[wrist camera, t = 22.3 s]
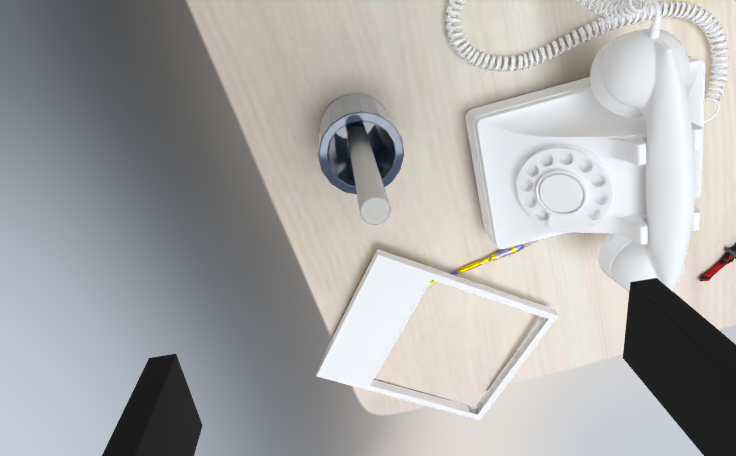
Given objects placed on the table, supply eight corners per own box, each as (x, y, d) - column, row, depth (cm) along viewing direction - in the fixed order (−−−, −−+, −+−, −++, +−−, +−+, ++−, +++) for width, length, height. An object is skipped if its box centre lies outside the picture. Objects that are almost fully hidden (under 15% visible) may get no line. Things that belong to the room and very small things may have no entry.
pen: (552, 237, 44) (550, 237, 45) (548, 230, 44) (547, 230, 45) (404, 298, 46) (405, 297, 47) (401, 291, 46) (402, 290, 47)
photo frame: (316, 367, 49) (477, 411, 54) (316, 376, 48) (480, 420, 53) (377, 247, 43) (554, 308, 47) (378, 254, 42) (558, 316, 46)
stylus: (345, 139, 40) (357, 222, 25) (348, 121, 39) (363, 194, 25) (363, 143, 40) (386, 227, 25) (368, 125, 39) (393, 200, 25)
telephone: (434, -29, 36) (486, -40, 24) (728, -111, 35) (923, -163, 24) (487, 271, 46) (540, 360, 35) (714, 212, 45) (844, 283, 34)
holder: (314, 156, 41) (312, 186, 34) (326, 86, 38) (327, 104, 32) (381, 169, 41) (392, 201, 35) (398, 101, 39) (412, 121, 33)
